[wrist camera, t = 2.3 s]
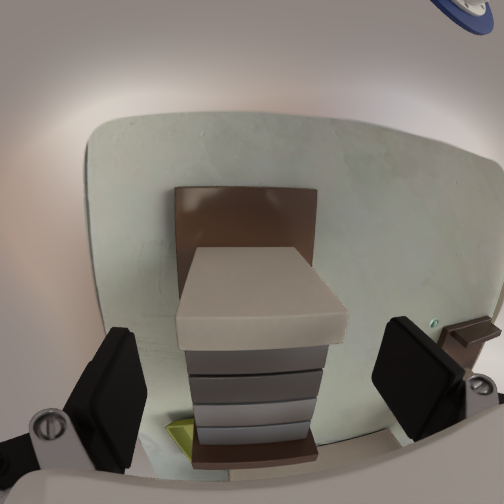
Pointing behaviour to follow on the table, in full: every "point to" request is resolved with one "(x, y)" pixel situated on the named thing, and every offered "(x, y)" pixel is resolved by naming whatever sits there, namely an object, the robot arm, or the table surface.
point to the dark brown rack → (467, 340)
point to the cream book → (256, 302)
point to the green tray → (182, 435)
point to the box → (327, 457)
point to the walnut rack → (249, 361)
